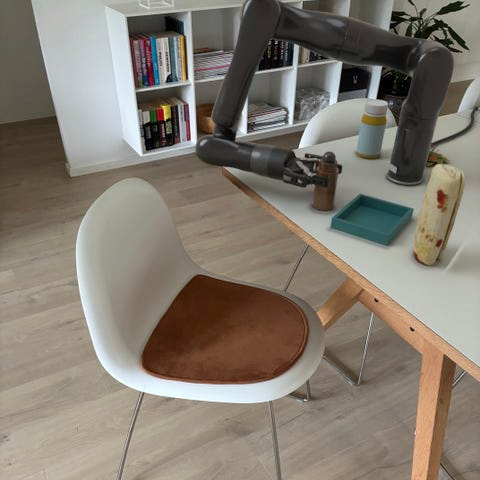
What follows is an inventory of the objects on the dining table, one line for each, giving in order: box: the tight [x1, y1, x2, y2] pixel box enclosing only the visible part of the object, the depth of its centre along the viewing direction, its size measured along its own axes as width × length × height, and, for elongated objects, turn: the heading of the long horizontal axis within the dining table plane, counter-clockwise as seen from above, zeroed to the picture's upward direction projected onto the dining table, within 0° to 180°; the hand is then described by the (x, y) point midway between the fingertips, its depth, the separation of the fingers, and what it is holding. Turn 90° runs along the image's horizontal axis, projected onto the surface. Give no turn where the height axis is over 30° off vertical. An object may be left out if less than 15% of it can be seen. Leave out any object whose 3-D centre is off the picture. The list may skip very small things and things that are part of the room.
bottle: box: [355, 98, 389, 160], centre depth 151 cm, size 7×7×15 cm
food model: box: [412, 163, 466, 267], centre depth 104 cm, size 10×7×20 cm
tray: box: [330, 193, 415, 247], centre depth 121 cm, size 16×14×3 cm
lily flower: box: [426, 145, 452, 167], centre depth 152 cm, size 12×12×5 cm
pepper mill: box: [311, 150, 339, 213], centre depth 123 cm, size 6×6×14 cm
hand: (335, 176), depth 122 cm, fingers open, 8 cm apart
